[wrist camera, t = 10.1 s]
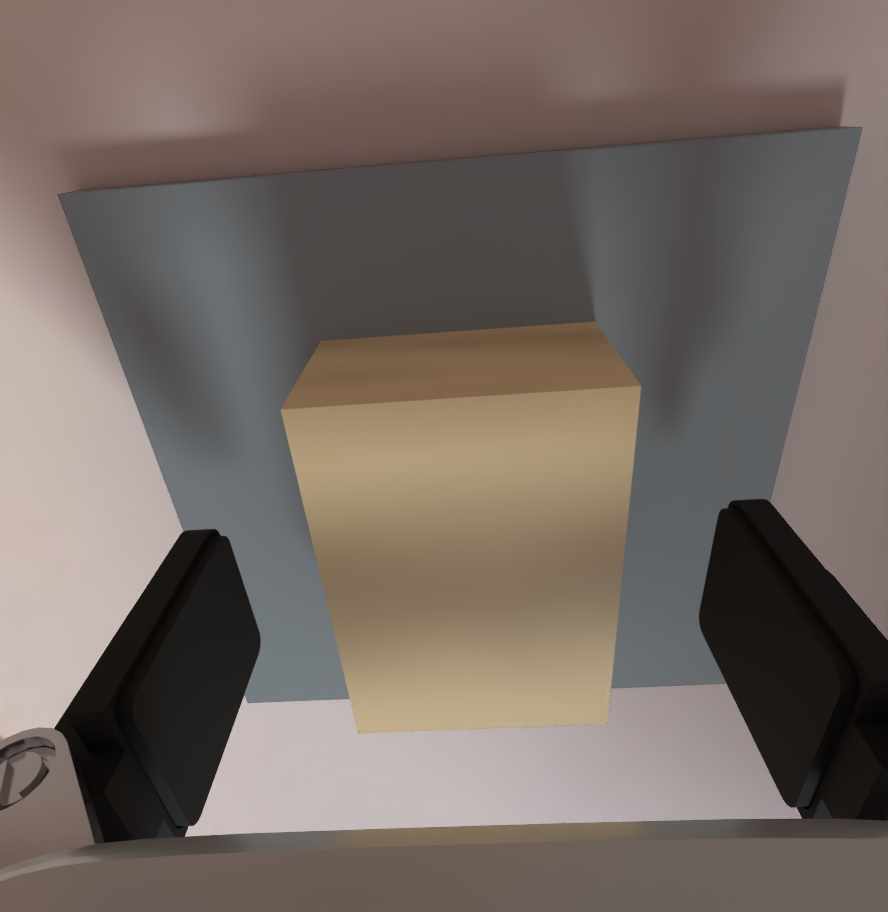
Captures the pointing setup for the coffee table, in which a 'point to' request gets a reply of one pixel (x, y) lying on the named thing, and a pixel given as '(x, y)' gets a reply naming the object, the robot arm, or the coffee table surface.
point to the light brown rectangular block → (469, 520)
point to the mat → (475, 308)
